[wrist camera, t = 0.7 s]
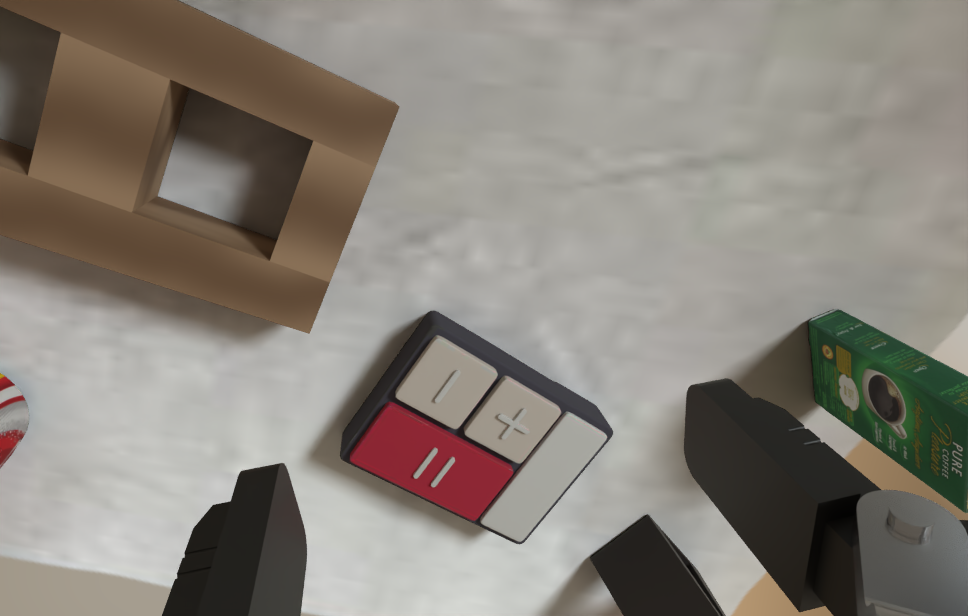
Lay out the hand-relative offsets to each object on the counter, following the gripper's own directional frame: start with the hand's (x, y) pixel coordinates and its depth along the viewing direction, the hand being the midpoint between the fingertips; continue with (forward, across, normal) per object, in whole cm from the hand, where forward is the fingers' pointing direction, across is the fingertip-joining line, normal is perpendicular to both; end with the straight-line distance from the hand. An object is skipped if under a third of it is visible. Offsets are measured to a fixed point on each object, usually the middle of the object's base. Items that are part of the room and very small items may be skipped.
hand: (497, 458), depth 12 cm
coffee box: (+26, -30, +17) cm, 43 cm away
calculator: (+26, -2, +16) cm, 31 cm away
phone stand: (+25, -15, +34) cm, 45 cm away
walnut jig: (+25, +14, -6) cm, 29 cm away
